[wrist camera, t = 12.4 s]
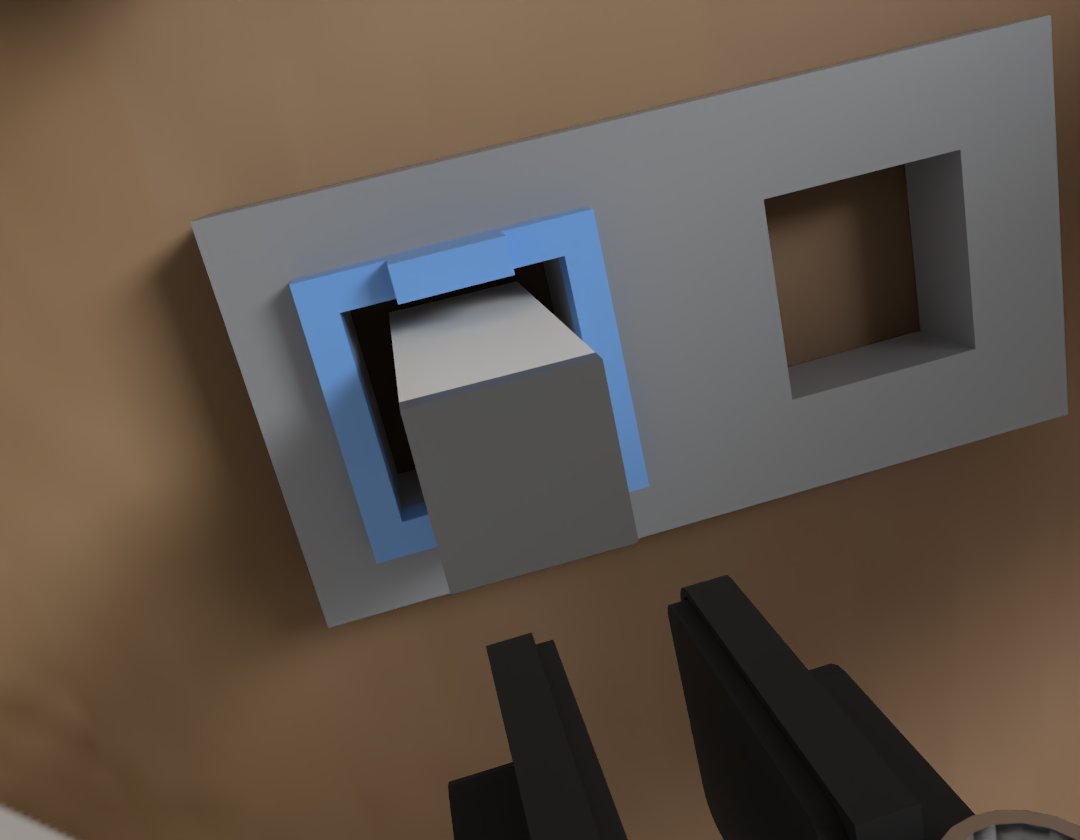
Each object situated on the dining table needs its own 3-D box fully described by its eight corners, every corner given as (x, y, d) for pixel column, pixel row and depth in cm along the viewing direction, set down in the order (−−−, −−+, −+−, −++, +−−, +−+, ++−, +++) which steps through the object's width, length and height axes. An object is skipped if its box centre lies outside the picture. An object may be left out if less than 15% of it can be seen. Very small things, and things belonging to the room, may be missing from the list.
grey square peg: (516, 281, 28) (602, 358, 18) (543, 403, 29) (639, 542, 19) (388, 312, 28) (399, 410, 17) (421, 435, 29) (450, 594, 19)
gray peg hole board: (983, 28, 29) (1104, 4, 24) (1006, 391, 32) (1116, 432, 28) (209, 213, 26) (174, 228, 21) (332, 582, 30) (325, 664, 25)
